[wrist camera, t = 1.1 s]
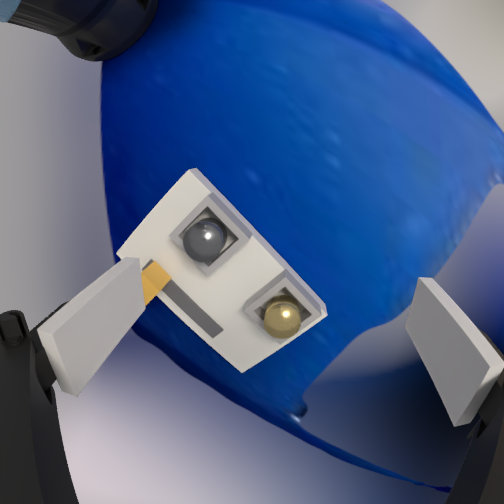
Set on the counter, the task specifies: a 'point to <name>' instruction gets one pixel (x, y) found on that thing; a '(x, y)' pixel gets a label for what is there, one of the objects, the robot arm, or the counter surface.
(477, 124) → the counter surface
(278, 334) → the brass button
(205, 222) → the grey button
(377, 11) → the counter surface
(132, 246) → the console
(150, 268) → the slider knob
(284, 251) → the counter surface
